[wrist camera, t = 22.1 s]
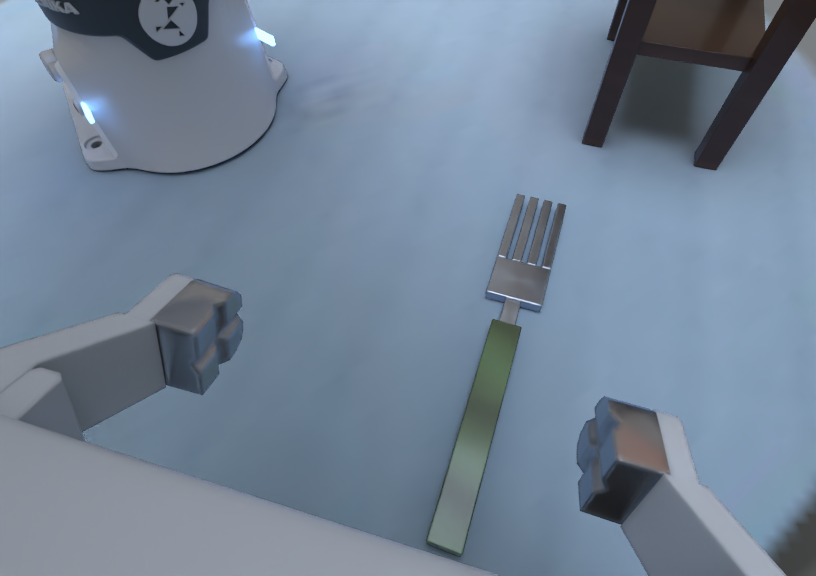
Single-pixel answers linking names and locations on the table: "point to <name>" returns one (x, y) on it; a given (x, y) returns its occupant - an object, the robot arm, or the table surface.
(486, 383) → the fork
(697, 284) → the table surface
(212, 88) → the robot arm
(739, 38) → the stand
